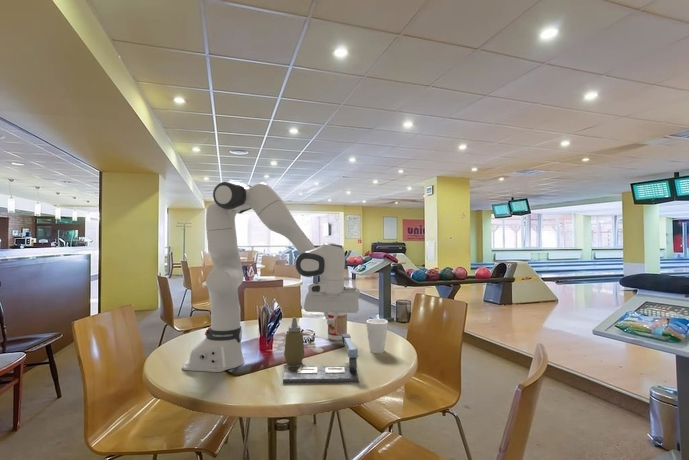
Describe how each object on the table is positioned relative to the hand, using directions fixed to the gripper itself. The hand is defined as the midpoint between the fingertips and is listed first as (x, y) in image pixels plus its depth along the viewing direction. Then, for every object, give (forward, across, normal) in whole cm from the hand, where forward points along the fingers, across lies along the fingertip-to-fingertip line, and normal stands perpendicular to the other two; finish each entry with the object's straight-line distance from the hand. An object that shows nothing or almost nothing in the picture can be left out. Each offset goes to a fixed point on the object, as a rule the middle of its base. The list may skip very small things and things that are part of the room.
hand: (330, 324), depth 134 cm
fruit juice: (+18, -4, -45) cm, 48 cm away
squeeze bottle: (+19, +14, -10) cm, 26 cm away
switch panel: (+18, +3, +3) cm, 19 cm away
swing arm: (+11, -7, -7) cm, 15 cm away
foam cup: (+18, -21, -25) cm, 37 cm away
